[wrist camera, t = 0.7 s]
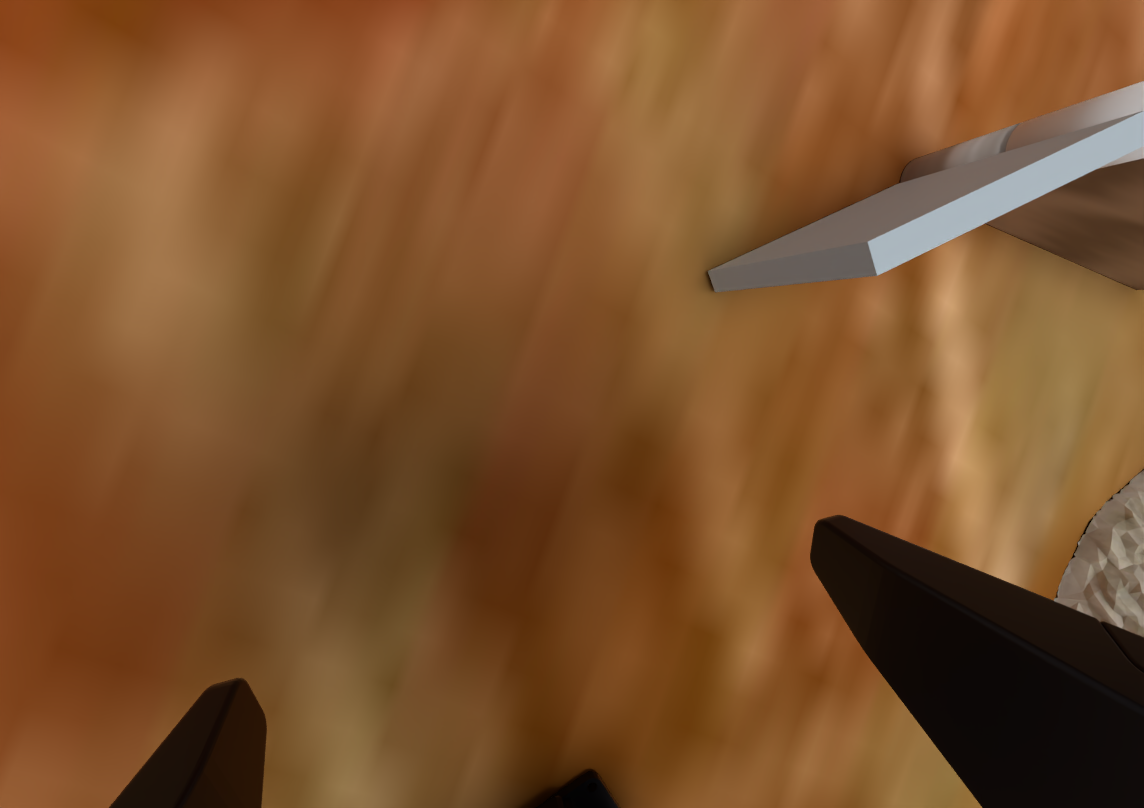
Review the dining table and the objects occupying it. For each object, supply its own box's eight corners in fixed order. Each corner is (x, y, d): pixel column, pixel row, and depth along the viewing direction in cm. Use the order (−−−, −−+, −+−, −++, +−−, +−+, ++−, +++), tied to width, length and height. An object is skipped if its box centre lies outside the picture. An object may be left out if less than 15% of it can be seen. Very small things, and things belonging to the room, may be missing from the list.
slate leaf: (940, 148, 27) (1208, 55, 17) (952, 197, 27) (1218, 133, 18) (702, 256, 25) (860, 217, 16) (720, 306, 25) (883, 298, 16)
